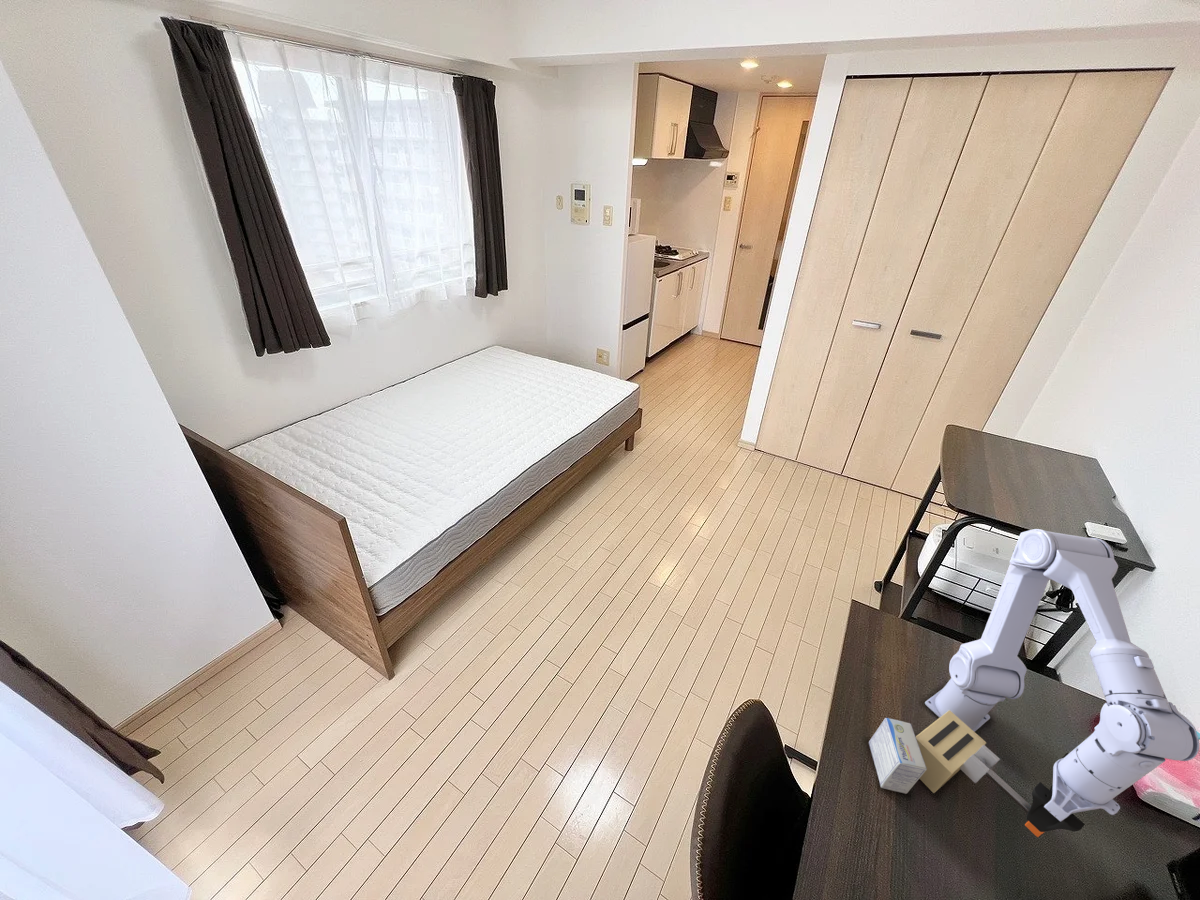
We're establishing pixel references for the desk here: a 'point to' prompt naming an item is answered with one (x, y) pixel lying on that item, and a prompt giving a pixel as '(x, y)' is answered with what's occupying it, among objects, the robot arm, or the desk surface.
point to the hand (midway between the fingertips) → (1046, 810)
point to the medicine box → (897, 756)
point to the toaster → (952, 752)
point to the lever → (1012, 796)
